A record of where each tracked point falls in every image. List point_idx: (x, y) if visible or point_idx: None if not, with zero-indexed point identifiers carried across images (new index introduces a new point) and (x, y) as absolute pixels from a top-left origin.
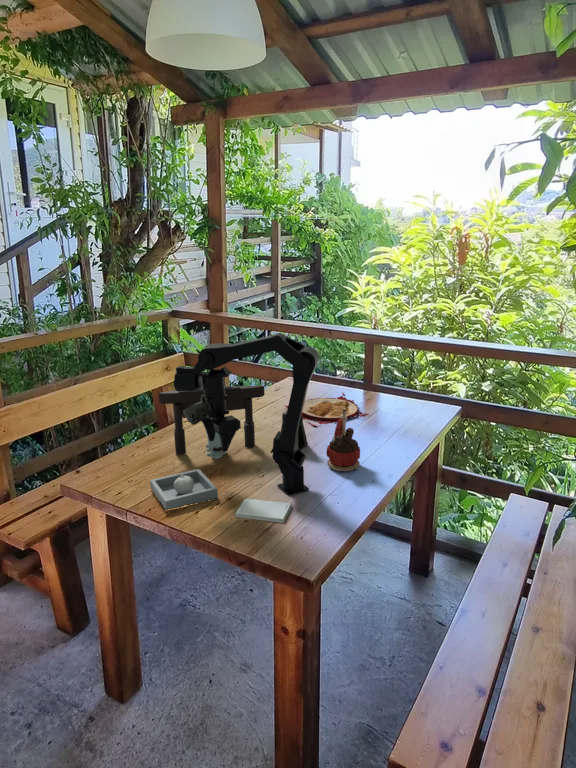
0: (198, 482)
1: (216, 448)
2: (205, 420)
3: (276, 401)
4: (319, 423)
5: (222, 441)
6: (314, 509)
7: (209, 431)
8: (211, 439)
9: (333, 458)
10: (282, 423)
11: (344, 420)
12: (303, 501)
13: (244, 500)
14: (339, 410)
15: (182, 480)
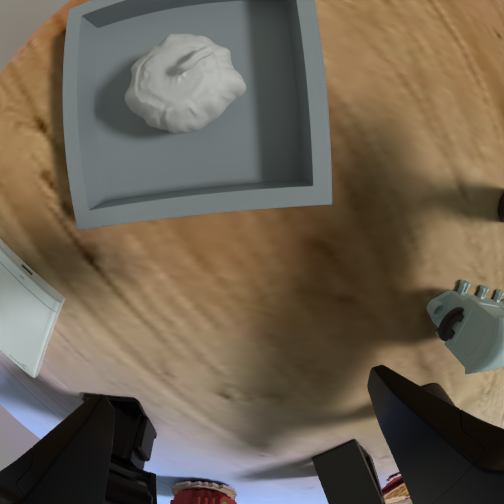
0: (263, 174)
1: (453, 323)
2: (494, 501)
3: (500, 421)
4: (397, 477)
5: (26, 453)
6: (32, 394)
7: (415, 431)
8: (374, 385)
9: (185, 501)
10: (378, 496)
11: None
12: (60, 399)
13: (46, 294)
14: (400, 494)
15: (147, 65)
